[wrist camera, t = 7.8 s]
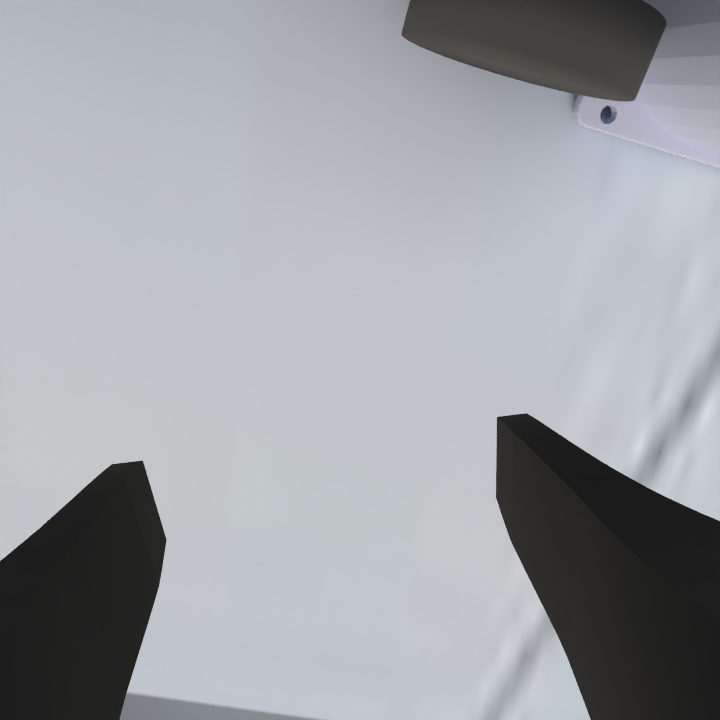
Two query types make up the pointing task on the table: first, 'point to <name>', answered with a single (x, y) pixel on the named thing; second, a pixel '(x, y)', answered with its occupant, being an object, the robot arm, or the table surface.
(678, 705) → the robot arm
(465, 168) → the table surface
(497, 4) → the trolley
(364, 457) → the table surface
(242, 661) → the table surface
